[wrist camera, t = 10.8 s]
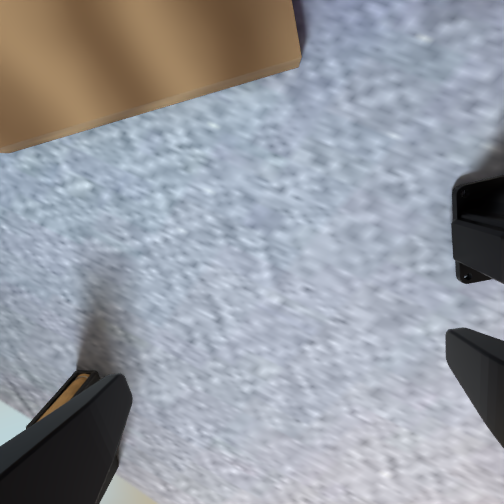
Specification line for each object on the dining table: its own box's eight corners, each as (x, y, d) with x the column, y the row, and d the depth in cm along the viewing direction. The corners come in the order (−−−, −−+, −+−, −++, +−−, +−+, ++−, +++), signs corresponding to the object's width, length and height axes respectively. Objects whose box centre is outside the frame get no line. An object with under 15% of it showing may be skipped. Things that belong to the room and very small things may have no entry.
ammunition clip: (75, 369, 23) (-117, 571, 11) (97, 370, 23) (-75, 574, 11) (99, 466, 26) (-34, 702, 14) (118, 467, 26) (0, 705, 14)
